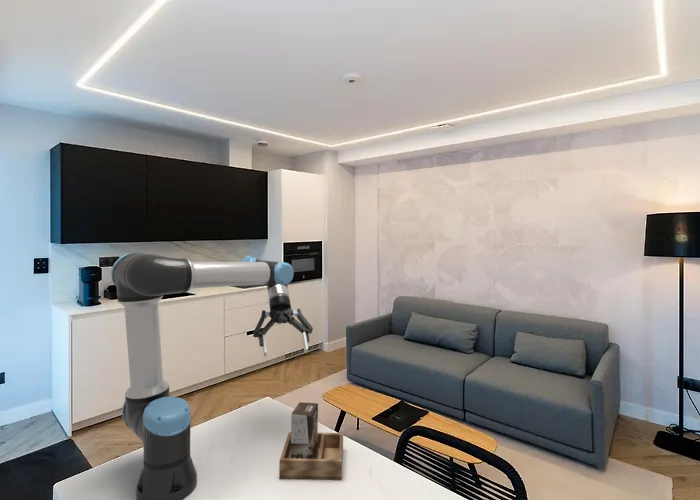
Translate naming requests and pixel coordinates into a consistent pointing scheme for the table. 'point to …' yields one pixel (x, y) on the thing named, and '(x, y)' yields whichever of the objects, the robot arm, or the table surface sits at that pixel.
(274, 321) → the robot arm
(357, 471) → the table surface
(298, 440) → the coffee box
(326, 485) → the table surface
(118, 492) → the table surface
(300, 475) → the caddy
